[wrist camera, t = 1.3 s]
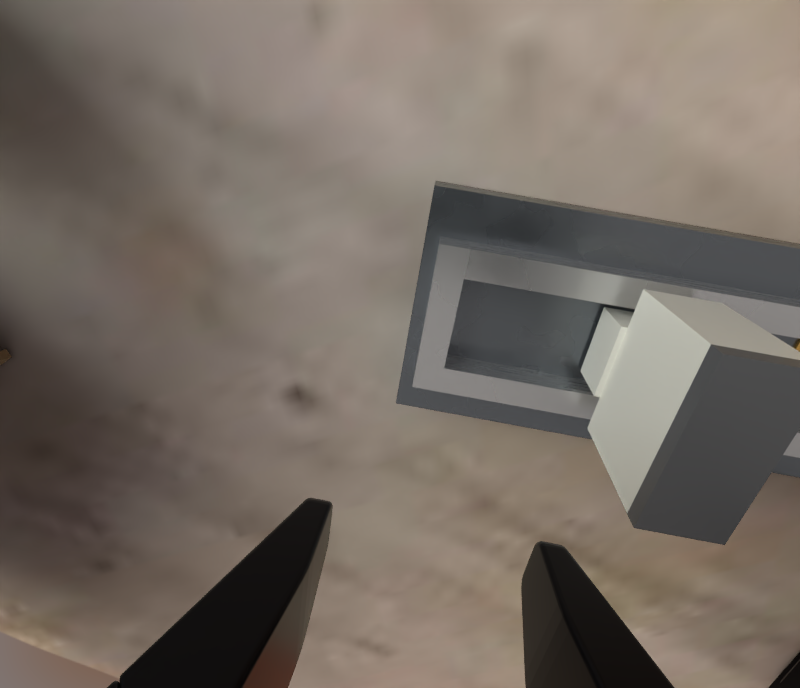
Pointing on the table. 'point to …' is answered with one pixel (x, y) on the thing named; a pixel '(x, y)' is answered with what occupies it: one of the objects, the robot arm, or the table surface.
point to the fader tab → (689, 411)
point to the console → (564, 300)
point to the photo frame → (4, 356)
